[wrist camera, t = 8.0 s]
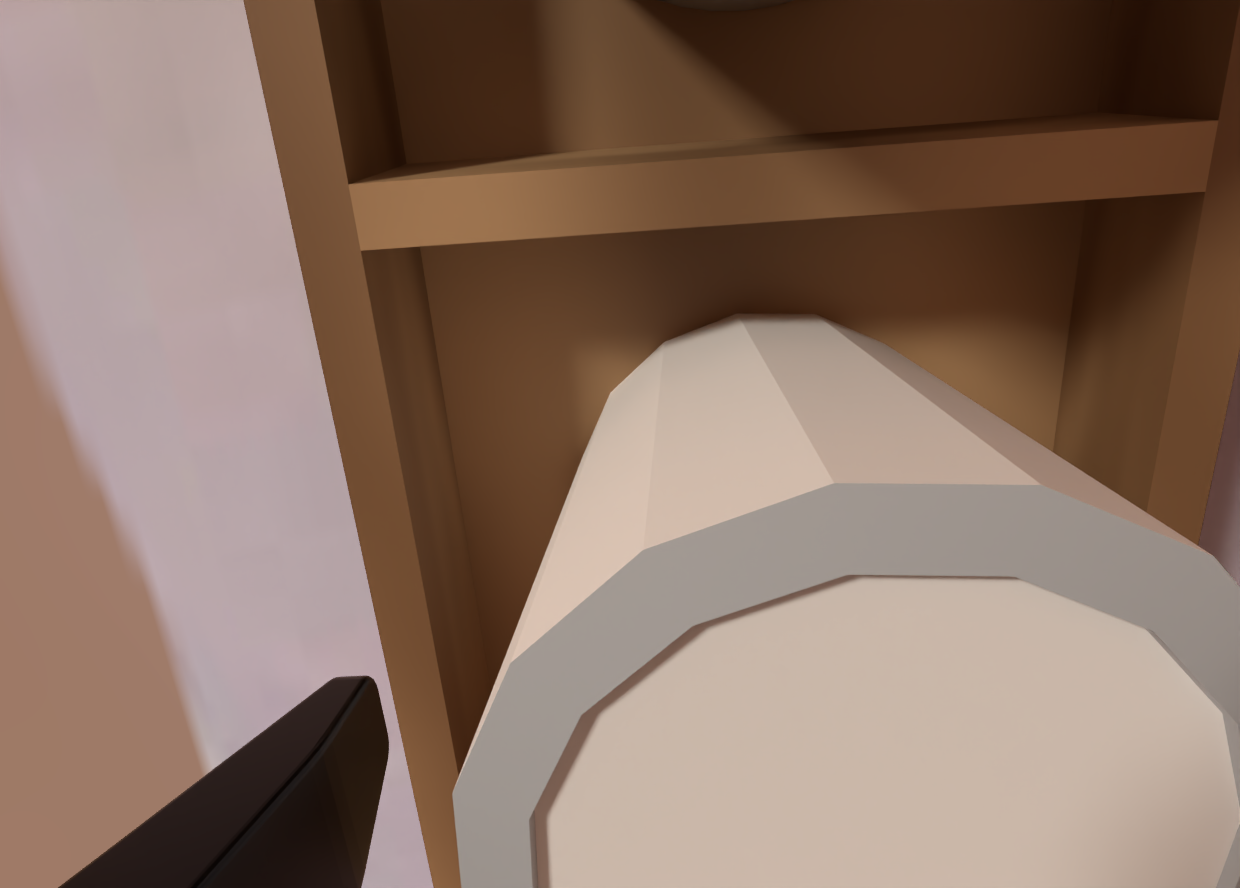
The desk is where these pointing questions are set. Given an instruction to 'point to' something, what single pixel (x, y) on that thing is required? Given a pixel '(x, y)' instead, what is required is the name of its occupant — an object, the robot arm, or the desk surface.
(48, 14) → the desk surface
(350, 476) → the rack
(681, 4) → the white rounded cylinder
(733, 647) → the shot glass
